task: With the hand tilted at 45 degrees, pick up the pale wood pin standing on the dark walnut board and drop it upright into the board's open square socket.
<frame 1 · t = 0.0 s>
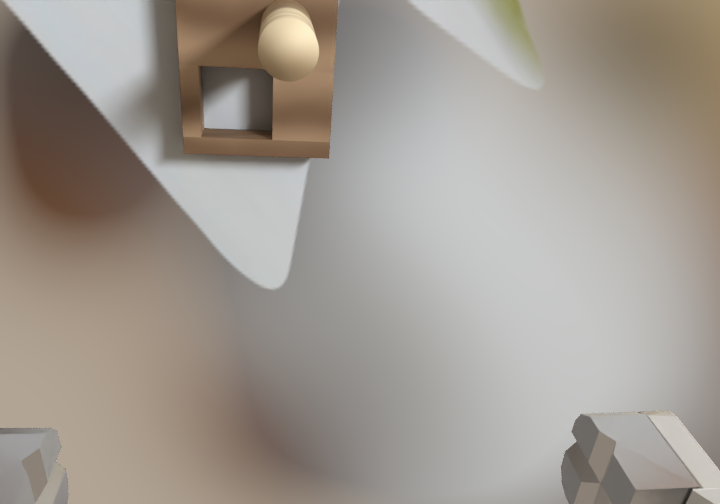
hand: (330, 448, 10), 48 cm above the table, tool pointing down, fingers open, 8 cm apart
pin: (286, 25, 50), point 2 cm above the table, touching pin board
pin board: (238, 96, 55), on the table
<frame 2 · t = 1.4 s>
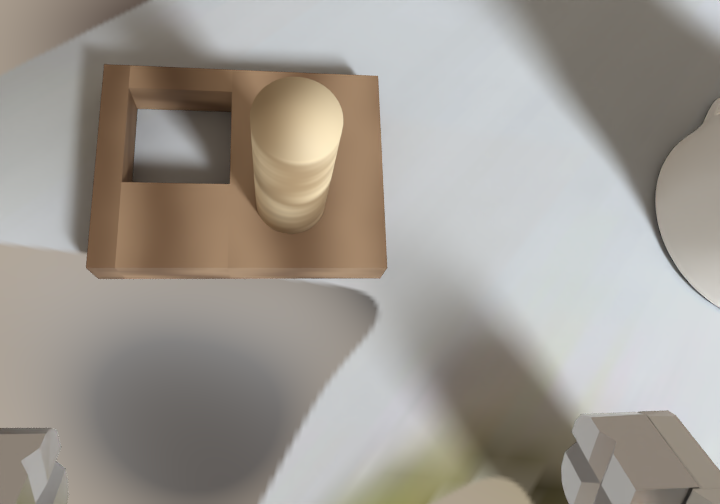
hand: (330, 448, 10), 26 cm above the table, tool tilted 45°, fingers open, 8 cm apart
pin: (290, 201, 36), point 3 cm above the table, touching pin board
pin board: (184, 153, 39), on the table
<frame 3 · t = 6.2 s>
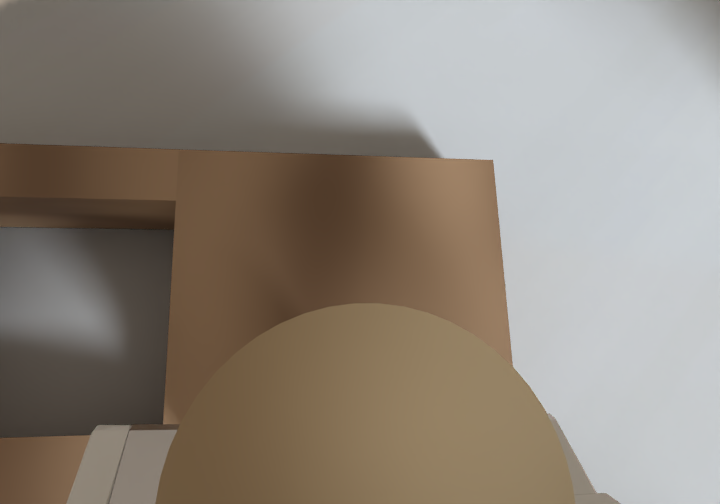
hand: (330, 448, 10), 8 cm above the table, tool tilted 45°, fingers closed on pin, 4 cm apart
pin: (307, 471, 15), point 3 cm above the table, touching gripper, pin board
pin board: (74, 327, 18), on the table
when the fingers open (7 cm above the table, at t = 12.8 s): pin drops 1 cm, resting in pin board.
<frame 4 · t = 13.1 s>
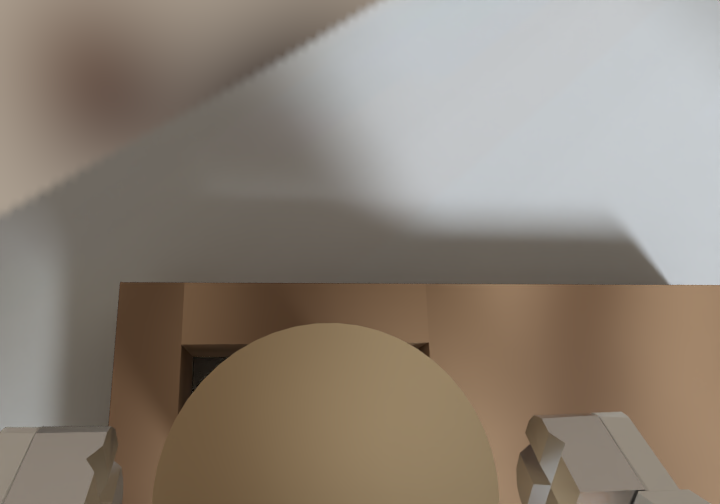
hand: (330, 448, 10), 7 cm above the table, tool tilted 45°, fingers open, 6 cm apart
pin: (307, 468, 17), resting in pin board
pin board: (303, 468, 17), on the table
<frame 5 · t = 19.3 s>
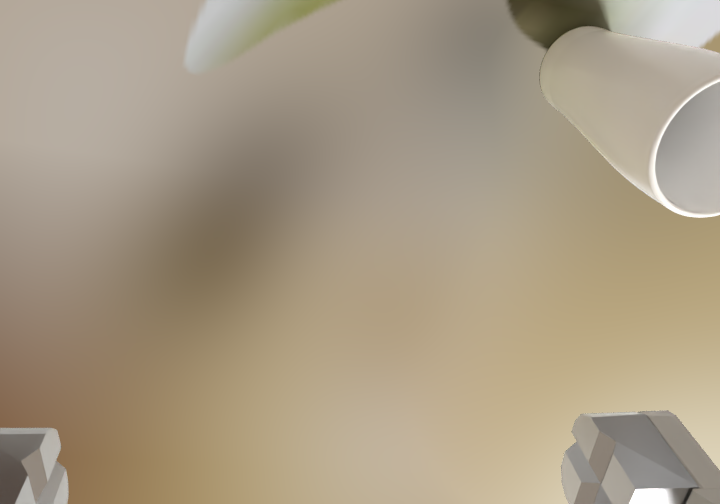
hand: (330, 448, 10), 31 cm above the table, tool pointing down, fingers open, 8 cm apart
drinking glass: (575, 67, 40), on the table
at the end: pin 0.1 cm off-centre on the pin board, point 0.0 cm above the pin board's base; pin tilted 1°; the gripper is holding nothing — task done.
